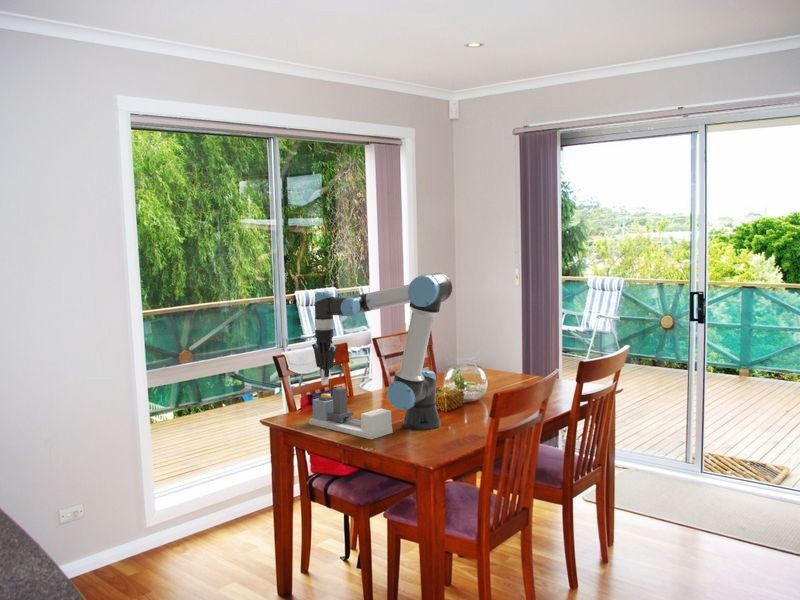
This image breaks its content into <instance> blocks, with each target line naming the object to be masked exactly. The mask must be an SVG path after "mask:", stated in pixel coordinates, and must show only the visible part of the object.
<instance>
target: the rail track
mask: <svg viewBox="0 0 800 600" xmlns="http://www.w3.org/2000/svg"><path fill="white" fill-rule="evenodd" d="M360 417H361V419H360V420H361V427H359V426H355V425H351V424H347V423H340V422H336V421H332V420H329V421H322V420H318V419H314V418H313V417H312V418H310V419H309V420H308V421H309V425H312V426H316V427H321V428H324V429H328V430H332V431H337V432H340V433H345V434H348V435H353V436H356V437H361V438H365V439H369V440H374V439H377V438H380V437H383V436H386V435H389V434H392V433H393V432H394V431H393V427H392V426H393V425H392V422H393V421H392V410H390V409H385V408H378V409H373V410H370V411H366V412H364V413H361V414H360Z"/></svg>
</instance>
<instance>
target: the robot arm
mask: <svg viewBox="0 0 800 600" xmlns="http://www.w3.org/2000/svg"><path fill="white" fill-rule="evenodd" d="M453 288H454V287H453V282H452V280H451V279H450V278H449V276H447V275H446V274H443V273H441V272H435V273H428V274H427V273H426V274H424V273H423V274H420V275H418V276H417V277H414V278H413V279H411V282H410V283H409V284H404V285H400V286H395V287H391V288H384V289H381V290H376V291H371V292H368V293H362V294H357V295H351V296H345V297H342V296H340V297H337V296H336V297H335V296H334V295H333V292H332V291H316V292H315V294H314V302H313V303H314V328H315V330H314V338H315V339H316V341H315V343H313V344H312V345H311V346H312V348H313V352H314V358H315V364H316V367H317V368H319V370H320V371H319V372H320V380H321V381H320V382H321V385H322V386H326V385H327V386H328V385H329V382H330V381H329V378H330V370H331V369H333V368H334V364H335V363H334V362H335V358H336V357H335V356H336V351H337V349H338V347H337V345H336V346H335V345H334V344H333V340H332V339H333V338H334V329H333V328H334V316H343V317H348V318H349V317H356V316H357V315H358V314H361V313H366V312H371V311H376V310H380V309H386V308H391V307H397V306H401V305H406V304H409V307H410V309H411V315H410V321H409V324H408V325H409V326H408V329H407V335H406V340H405V345H404V348H403V354H402V359H401V363H400V367H399V369H397V370H395V374H394V378H393V382H391V383H390V384H389V386H388V387H387V390H386V397H387V399H388V401H389V403H390V405H391V406H393V407H394V408H396V409H397V410H401V411H405V410H406V412H405V415H404V418H403V427H404V428H406V429H410V430H416V431H428V430H434V429H438V428H439V427H441V419H440V415H439V413H438V409H437V405H436V403H437V402H436V401H437V400H436V399H437V398H436V397H437V394H436V393H437V391H436V390H437V387H436V386H437V382H436V381H437V379H436V373H435V372H434V371H433V370H426V369H423V368H424V364H425V358H426V354H427V349H428V345H429V340H430V336H431V331H432V327H433V323H434V318H435V316H436V315H437V314H438V313H440V308H441V304H442V303H443V302H445V301H447V300H448V299H449V298H450V297H451V295H452V293H453Z"/></svg>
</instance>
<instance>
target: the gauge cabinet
mask: <svg viewBox="0 0 800 600" xmlns="http://www.w3.org/2000/svg"><path fill="white" fill-rule="evenodd" d="M332 411H333V400H329V401H322V400H319V397H318V398H315V399H314V398H313V399H312V418H314V419H318V420H322V421H329V420H330V417H328V414H327V413H329V412H332Z"/></svg>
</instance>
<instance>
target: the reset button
mask: <svg viewBox="0 0 800 600" xmlns="http://www.w3.org/2000/svg"><path fill="white" fill-rule="evenodd" d="M318 398H319V400H322V401H329V400H333V396H332V395H331V393H321V395H320V397H318Z"/></svg>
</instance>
